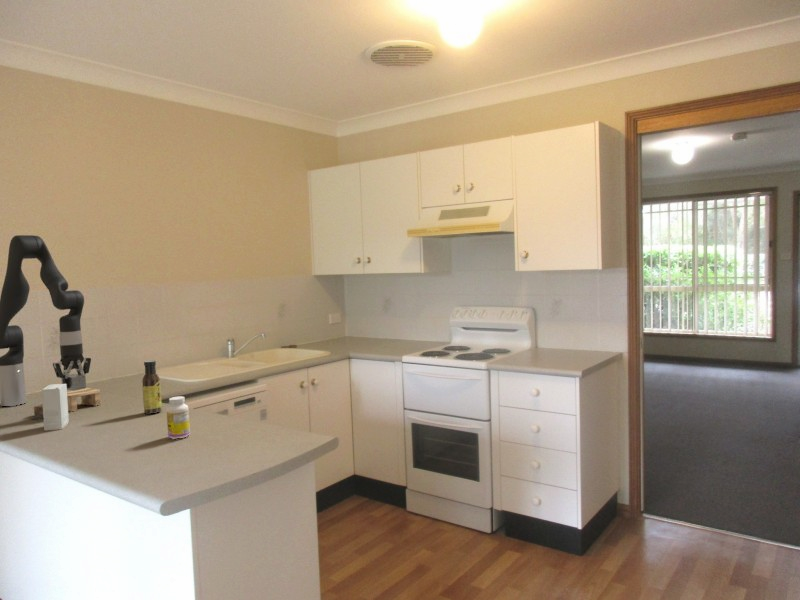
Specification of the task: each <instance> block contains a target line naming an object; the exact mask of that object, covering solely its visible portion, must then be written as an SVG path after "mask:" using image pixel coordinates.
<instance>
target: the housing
mask: <svg viewBox="0 0 800 600" xmlns="http://www.w3.org/2000/svg"><path fill="white" fill-rule="evenodd" d="M60 379H61V384H63V379H62V378H60ZM68 379H69V388H67V391H75V390H80V389H85V388H87V380H86V379H87V378H86V374H85V375H80V374H78V373H69V376H68Z"/></svg>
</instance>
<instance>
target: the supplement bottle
mask: <svg viewBox="0 0 800 600" xmlns="http://www.w3.org/2000/svg"><path fill="white" fill-rule="evenodd" d="M168 402H169V406H167V408H166V421H167V435H168V438H169V437H170V438H180V437H185V436H187V435H189V434H190V435H191V429H190V412H189V410H190V409H189V406H188V405H187V404H185V396H173V397H170V398H168ZM190 435H189V436H190ZM170 438H169V439H170Z"/></svg>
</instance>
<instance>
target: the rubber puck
mask: <svg viewBox="0 0 800 600" xmlns="http://www.w3.org/2000/svg"><path fill="white" fill-rule="evenodd" d="M38 419H40V420H44V419H43V414H37V415H32V420H33V421H39V420H38Z"/></svg>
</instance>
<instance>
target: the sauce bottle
mask: <svg viewBox="0 0 800 600" xmlns="http://www.w3.org/2000/svg"><path fill="white" fill-rule="evenodd" d="M143 363H144V364H143V365H144V373H145V374H144V376H143V377H142V381H141V382H142V399H143V409H144V414H145V413H146V415H152V414H151V413H155V414H158V413H157V412H159V413H161V412H162V407H163V406H162V392H161V391H162V389H161V379H160V377H159V375H158V374H157V368H156V363H157V362H156V360H145V361H144V362H143ZM160 411H161V412H160Z"/></svg>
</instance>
